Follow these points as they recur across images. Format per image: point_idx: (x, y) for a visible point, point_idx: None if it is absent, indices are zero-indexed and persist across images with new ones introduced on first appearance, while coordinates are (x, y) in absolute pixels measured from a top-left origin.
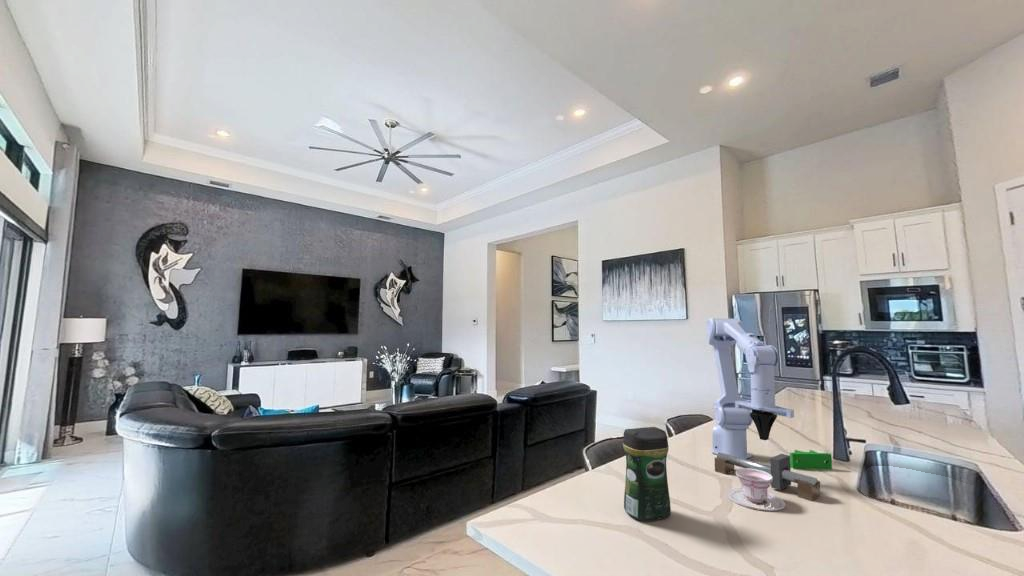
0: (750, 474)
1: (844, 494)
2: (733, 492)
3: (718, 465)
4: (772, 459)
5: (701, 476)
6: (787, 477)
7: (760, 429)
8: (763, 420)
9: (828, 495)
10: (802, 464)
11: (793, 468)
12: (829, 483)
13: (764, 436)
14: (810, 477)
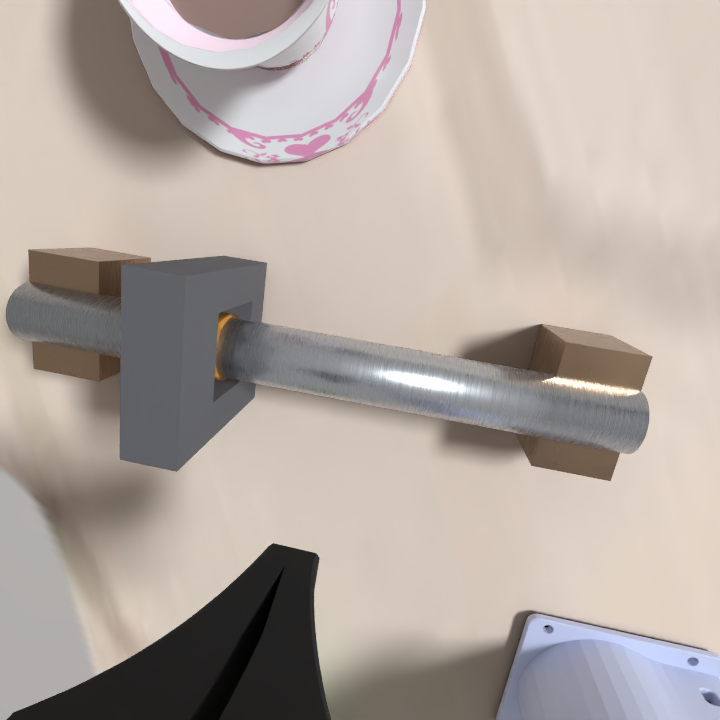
0: (287, 26)
1: (44, 451)
2: (403, 4)
3: (601, 340)
4: (172, 272)
5: (661, 157)
6: None
7: (269, 617)
8: (134, 708)
9: (77, 388)
10: None
11: None
12: (126, 552)
13: (256, 561)
14: (29, 311)
